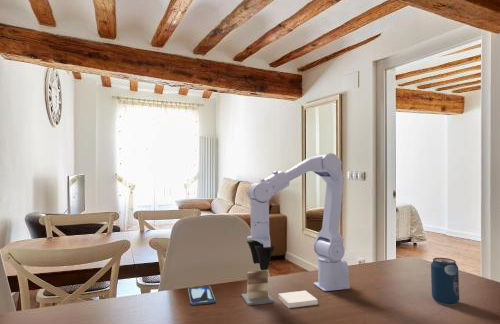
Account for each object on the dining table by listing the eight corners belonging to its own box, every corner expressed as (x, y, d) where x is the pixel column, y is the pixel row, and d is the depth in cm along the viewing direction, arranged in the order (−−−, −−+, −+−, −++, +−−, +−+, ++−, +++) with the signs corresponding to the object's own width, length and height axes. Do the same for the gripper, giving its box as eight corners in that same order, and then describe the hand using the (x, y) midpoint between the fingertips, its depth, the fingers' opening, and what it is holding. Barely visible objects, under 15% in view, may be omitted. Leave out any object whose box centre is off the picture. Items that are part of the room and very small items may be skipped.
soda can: (462, 307, 93) (461, 263, 93) (434, 304, 95) (433, 262, 96) (455, 298, 99) (454, 258, 100) (429, 296, 102) (428, 256, 102)
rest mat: (266, 293, 106) (266, 291, 106) (274, 302, 98) (274, 300, 98) (241, 295, 104) (241, 293, 104) (247, 305, 96) (247, 303, 96)
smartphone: (210, 285, 113) (216, 300, 98) (210, 288, 112) (216, 303, 98) (187, 287, 111) (190, 303, 96) (187, 290, 111) (190, 306, 96)
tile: (305, 290, 104) (317, 299, 96) (305, 296, 104) (317, 305, 96) (278, 293, 102) (288, 303, 94) (278, 299, 101) (288, 309, 94)
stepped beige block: (266, 295, 102) (266, 270, 103) (267, 297, 101) (267, 271, 101) (247, 297, 101) (247, 271, 101) (248, 299, 99) (248, 273, 99)
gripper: (241, 219, 109) (242, 261, 109) (253, 225, 95) (254, 274, 95) (262, 218, 111) (263, 259, 111) (277, 224, 97) (277, 271, 97)
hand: (260, 266), depth 103 cm, fingers open, 7 cm apart
